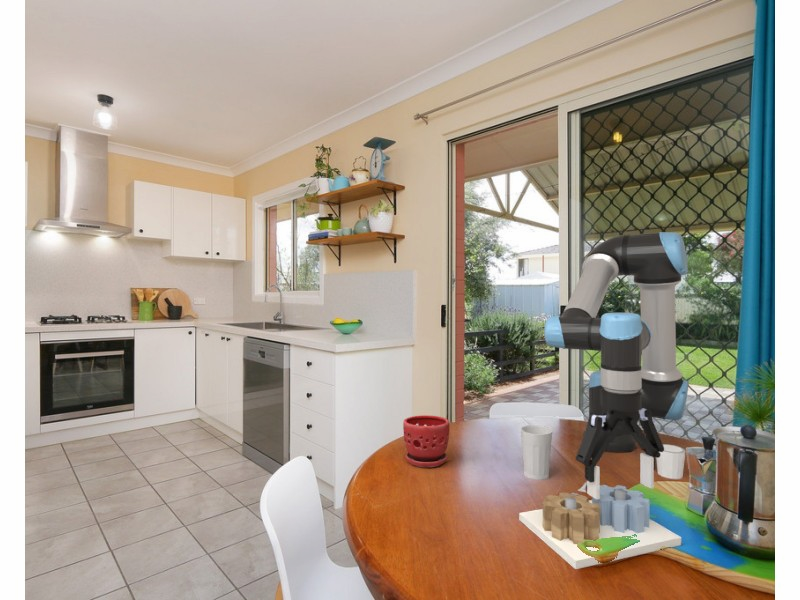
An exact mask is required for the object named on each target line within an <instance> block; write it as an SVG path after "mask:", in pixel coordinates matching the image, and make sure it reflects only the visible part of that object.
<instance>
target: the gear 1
mask: <svg viewBox="0 0 800 600" xmlns="http://www.w3.org/2000/svg"><path fill="white" fill-rule="evenodd" d="M558 494H559V495H553V494H550V493H549V494H548V495H545V496H544V501H542V509H543V528H544V531H551V532H552V537H553V538H555V539H557V540H559V541H561V540H563V539H568V538H569V540H572V542H573V544H578V543H579V542H580V543H584V539H585V540H593V541H596V540H597V539H599V533H600V507H599V506H598V504H597V503H590V502H589V497H586V496H585V495H582V494H578V495H577V496H578V497H576V496H574V497H572V495H569V494H570V493H569V492H559V493H558ZM581 495H582V496H581ZM584 496H585V497H584ZM567 497H572V498H575V499H576V509H567V508H565V499H566V498H567Z"/></svg>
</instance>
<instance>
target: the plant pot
mask: <svg viewBox="0 0 800 600" xmlns="http://www.w3.org/2000/svg"><path fill="white" fill-rule="evenodd" d="M402 423H403V424H402V427H403V428H402V429H403V441H404V445H405V448H406V450H407V453H406V454H405V458H406V460H407V461H408V463H410V464H411V465H412V466H415V467H419V468H427V469H431V468H435V467H438V466H441V465H443V464H444V463H445V462H446V461H447V458H448V455H447V453H446V451H447V448H448V445H449V441H450V440H449V439H450V421H449V420H448V419H447V418H446V417H443V416H439V415H425V414H424V415H423V414H421V415H413V416H408V417H407V418H404V420H403V422H402Z"/></svg>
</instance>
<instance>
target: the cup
mask: <svg viewBox="0 0 800 600" xmlns="http://www.w3.org/2000/svg"><path fill="white" fill-rule="evenodd" d="M520 437H521V448H522V449H521V450H522V459H523V461H522V462H523V475H524V477H526V478H528V479H530V480H537V481H544V480H547V479H549V477H550V465H551V463H550V461H551V453H552V452H551V451H552V440H553V430H552V428H549V427H547V426H543V425H535V424H528V425H524V426H521V427H520Z"/></svg>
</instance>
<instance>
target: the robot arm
mask: <svg viewBox="0 0 800 600" xmlns="http://www.w3.org/2000/svg"><path fill="white" fill-rule="evenodd" d="M683 238H684V237H682V235H681V234H680V233H678V232H675V231H674V232H671V231H668V232H667V231H665V232H663V231H659V232H650V233H649V232H648V233H637V234H621V235H620V234H619V235H617V236H616V235H615V236H613V237H610V238H608V239H606V240H604V241H602V242H601V243H599V244H598V245H596V247H593V249H592V250H591V251H590V252H589V253H588V254H587V255H586V257H585V259H584V261H583V262H582V273H581V276H580V277H579V279H578V282H577V284H576V286H575V287H574V289H573V291H572V294H571V296H570V298H569V299H568V302H567V304H566V306H565V308H564V310H563V312H562V314H561V315H560V316H559V315H556V316H550V317H548V318H547V319H546V320H545V324H544V327H543V328H544V329H543V330H544V331H543V332H544V333H543V335H544V339H545V344H547V346H549V347H550V348H559V349H562V350H579V351H580V350H584V351H598V352H600V369H599V370H595V371H593V372H591V373H590V375H589V377H588V378H589V381H588V418H587V422H586V425H585V430H584V431H583V434H582V440H581V442H580V445H579V448H578V449H577V453H576V456H575V460H576V461H577V462H579V464H582V465H583V466H584V479H585V481H586V482H587V485H586V493H587V495H589V496H590V497H591V498H592V497H593V498H595V499H596V500H597V499H600V485H601V484H600V481H601V480H600V477H601V476H600V468H601V467H600V466H598V465H597V464H598V463H599V461H600V459H601V458H602V456H603V454H605V452H612V453H628V452H631V451H634V450H636V448H637V444H638V445H639V447H640V449H641V450H642V451H643V452H640V454H639V457H640V460H639V463H640V465H639V466H640V467H639V468H640V469H639V471H640V473H639V474H640V482H639V484H641V485H643V486H645V487H647V488H648V489H650V490H651V489H654V488H655V485H654V483H655V482H654V481H655V476H654V474H655V473H654V471H655V470H656V457H657V458H659V457H660V453H659V452H663V451H664V447H663V442H662V440H661V437H660V435H659V433H658V431H657V429H656V426H655V424H654V420H653V418H655V419H661V420H670V421H671V420H672V421H679V420H681V419H682V418H683V417H684V413H685V408H686V404H687V398H688V392H689V380H686V379H683V373H682V372H681V371H680V370H679V369H678V368H677V345H676V343H677V342H676V341H677V337H676V336H677V335H676V287H677V285H678V284H679V283H681V282H682V276H684V275H687V274H688V268H689V267H688V257H687V251H686V247H685V243H684V242H685V241H684V239H683ZM619 276H626V277H628V276H633V283H634V284H635V285H636V286H637V287H638V288H639V293H640V294H639V295H640V296H639V299H640V301H639V302H640V314H638V313H635V312H606V313H603V314H602V315H601V317H597V315H598V313H599V310H600V308H601V306H602V303H603V300H604V298H605V296H606V294H607V292H608V289H609V286H610V284H611V282H613V281H614V280H615V279H616V278H617V277H619ZM638 422H639V424H640V426H641V427H640V426H639V424H638Z"/></svg>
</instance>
